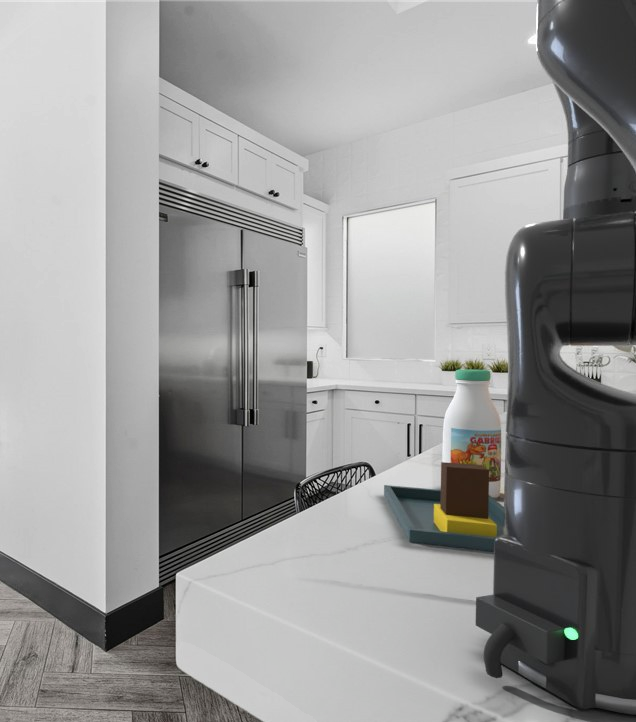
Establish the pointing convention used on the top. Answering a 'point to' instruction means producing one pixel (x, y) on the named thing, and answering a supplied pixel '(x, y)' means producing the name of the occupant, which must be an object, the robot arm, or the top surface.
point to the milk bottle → (473, 427)
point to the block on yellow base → (464, 500)
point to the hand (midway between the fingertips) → (603, 344)
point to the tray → (419, 523)
